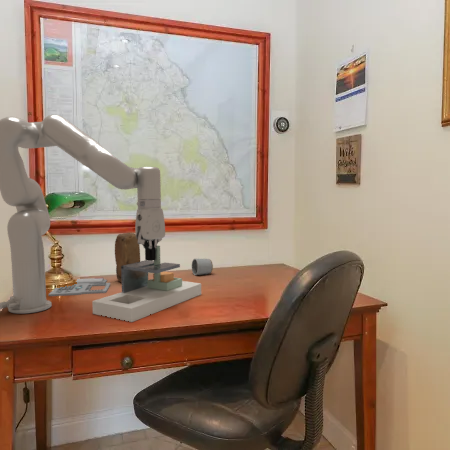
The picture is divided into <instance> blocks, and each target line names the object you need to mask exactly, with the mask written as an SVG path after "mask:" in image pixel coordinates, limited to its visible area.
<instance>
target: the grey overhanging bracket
mask: <svg viewBox="0 0 450 450" xmlns="http://www.w3.org/2000/svg"><path fill="white" fill-rule="evenodd" d="M177 268H181V264H179V263H172V262H160V264H157V265H154V260H153V261H148V260H145V259H144V260H140V262H136V263H132V264H127V265H123V266H121V278H122V282H121V292H122V293H126V292H129V291H133V290H136V289H139V288H142V287H146V286H147V280H149V273H150V274H151V273H152V274H154V273H160V272H169V271H171V270H174V269H177Z"/></svg>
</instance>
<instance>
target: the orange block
mask: <svg viewBox="0 0 450 450" xmlns="http://www.w3.org/2000/svg"><path fill="white" fill-rule="evenodd" d="M174 275H175V273H174V272H171V271H164V272H161V282H166V283H167V282H170V281H173V280H174V277H175V276H174ZM152 277H153V278H152V279H153V281H154V273H152Z"/></svg>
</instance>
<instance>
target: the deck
mask: <svg viewBox="0 0 450 450" xmlns="http://www.w3.org/2000/svg"><path fill="white" fill-rule="evenodd" d="M198 296H202V283H199V282H192V281H186V280H182V286H179V287H176V288H173V289H170V290H168V291H166V290H159V289H153V288H147V286H146V287H142V288H139V289H136V290H133V291H129V292H126V293H122V291H121V292H117V293H114V294H112V295H107V296H105V297H102V298H98V299H95V300H92V315H97V316H101V315H102V316H101V317H105V316H107V317H106V318H110V317H111V318H110V319H114V318H116V319H115V320H119V319H120V321H124V320H125V322H128V321H129V323H133V322H136V321H138V320H141V319H143V318H146V317H148V316H150V314H151V315H153V314H156V313H158V312H161V311H163V310H165V309H167V308H168V309H169V308H171V307H173V306H177V305H179V304H181V303H184V302H187V301H188V300H192V299H193V298H196V297H198Z"/></svg>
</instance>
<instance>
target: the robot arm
mask: <svg viewBox="0 0 450 450" xmlns="http://www.w3.org/2000/svg"><path fill="white" fill-rule="evenodd" d="M49 147H50V148H52V147H57V148H59V149H60V150H62V151H63V152H65V153H67V154H68V155H69V156H71V158H73V159H75V160H76V161H78V162H79V163H80V164H81V165H82V166H85V167H86V168H88V170H91V171H92V172H93V173H95V174H96V175H97V176H98V177H100V178H102V179H103V180H105V181H106V182H107V183H109V184H111V186H113V187H115V188H116V189H119V190H123V191H124V190H133V189H137V192H136V193H137V197H136V198H137V201H136V207H137V209H136V214H135V229H134V230H135V231H134V232H135V233H134V234H136V238H137V239H138V244H139V245H142V246H143V249H144V255H145V257H144V258H145V259H144V261H145V260H147V261H154V260H156V248H157V246H158V243H160V242H162V240H163V238H165V237H166V224H165V222H166V221H165V216H164V215H165V214H164V211H163V208H162V193H161V190H162V189H161V186H162V183H161V169H160V168H159V167H156V166H140V167H130V166H129V165H127V164H125V163H124V162H123V161H121V160H120V159H118V158H117V157H115V156H114V155H113V154H112V153H110V152H109V151H108V150H107V149H105V148H104V147H103V146H102V145H101V144H100V143H99V141H97V140H95V138H92V137H91V136H90V135H89V134H87V133H85V131H83V130H82V129H80V128H78V127H77V126H76V125H74V124H73V123H72V122H70V121H69V120H68V119H66V118H65V117H63V116H61V115H59V114H49V115H48V116H45V117H44V118H43V120H42V121H33V122H28V121H27V120H24V119H22V118H19V117H17V116H16V117H15V116H6V117H3V118H1V119H0V195H1V198H2V200H3V201H4V203H5V204H7V205H8V206H11V207H15V208H16V211H17V212H15V213H14V214H12V215H11V217H10V218H9V219H8V221H7V226H6V228H7V236H8V242H9V246H10V248H9V249H10V261H11V262H10V263H11V276H12V277H11V278H12V296H9V299H8V300H6V301H1V302H0V310H2V309H6V308H7V309H8V312H10V313H12V314H19V315H20V314H33V313H34V314H35V313H38V312H42V311H45V310H46V311H47V310H48V309H50V308H51V307H52V306H53V305H52V302H51V300H49V299H48V300H47V285H46V264H45V262H46V261H45V248H44V243H43V237H42V236H44V235H45V234H46V233H48V231H49V229H50V227H51V218H50V213H49V210H48V209H49V208H48V206H47V203H46V200H45V196H44V193H43V190H42V187H41V185H40V184H39V183H38V182H37V181H36V180H35V179H34V178H30V177H29V176H28V174H27V171H26V168H25V162H24V161H23V158H22V155H21V154H20V150H19V148H21V149H37V148H38V149H39V148H49Z"/></svg>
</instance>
